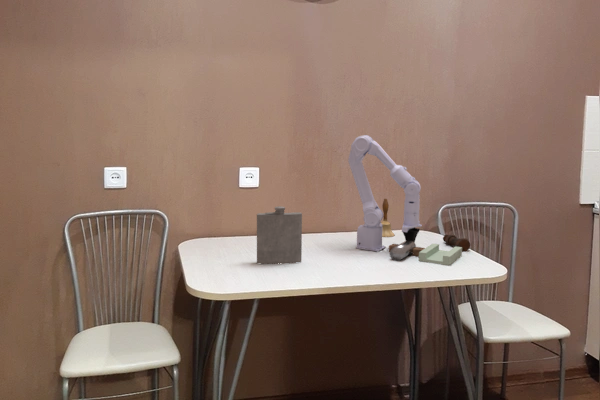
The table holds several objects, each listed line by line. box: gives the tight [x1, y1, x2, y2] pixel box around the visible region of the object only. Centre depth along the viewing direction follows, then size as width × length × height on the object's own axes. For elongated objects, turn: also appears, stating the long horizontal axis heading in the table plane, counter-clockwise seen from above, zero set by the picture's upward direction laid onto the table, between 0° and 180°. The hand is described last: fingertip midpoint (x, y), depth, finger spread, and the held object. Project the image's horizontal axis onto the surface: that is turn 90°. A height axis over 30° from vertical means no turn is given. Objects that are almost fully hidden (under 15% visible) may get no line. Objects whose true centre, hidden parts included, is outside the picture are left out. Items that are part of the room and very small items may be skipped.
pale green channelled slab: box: [418, 243, 463, 266], centre depth 210 cm, size 11×16×3 cm
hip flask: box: [256, 205, 303, 265], centre depth 200 cm, size 16×4×20 cm, turn 101°
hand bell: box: [380, 198, 395, 238], centre depth 246 cm, size 8×8×16 cm
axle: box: [389, 240, 417, 262], centre depth 211 cm, size 14×5×5 cm, turn 150°
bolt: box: [442, 234, 471, 253], centre depth 227 cm, size 6×5×15 cm
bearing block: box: [388, 243, 426, 257], centre depth 216 cm, size 13×4×2 cm, turn 60°
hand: (410, 247), depth 219 cm, fingers closed
